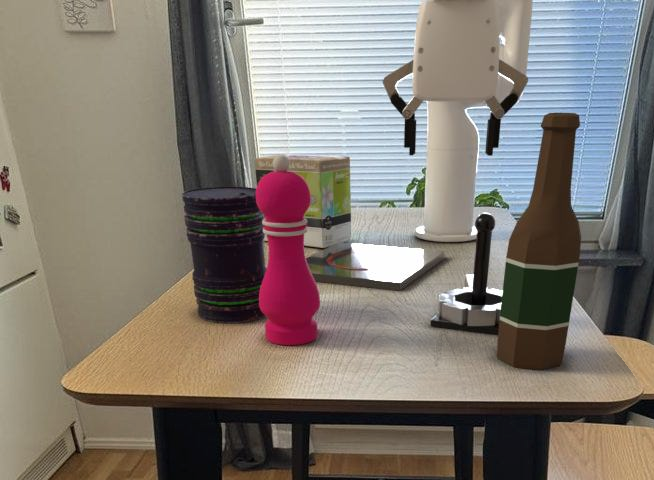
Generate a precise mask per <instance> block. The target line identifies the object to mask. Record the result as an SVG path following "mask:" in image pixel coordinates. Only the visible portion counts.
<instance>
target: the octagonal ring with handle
mask: <svg viewBox="0 0 654 480" xmlns="http://www.w3.org/2000/svg"><path fill="white" fill-rule="evenodd" d="M472 286H473V274H465V275H464V287H462V288H454V289H451V290H446V291H443V292H441V293H440V294H438V301H437V312H438V313H437V314H439V317H442V319H443V320H447V321H450V322H453V323H456V324H460V325H463V324H466V323H467V326H495V324H497V325H499V321H500V312H501V302H502V293H503V290H501V289H496V288H490V289H489V288H488V287H487V291H486V302H485V305H471V298H472Z"/></svg>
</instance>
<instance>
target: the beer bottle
mask: <svg viewBox="0 0 654 480" xmlns="http://www.w3.org/2000/svg"><path fill="white" fill-rule="evenodd" d="M540 123H541V124H540V127H541V129H542V130H543V131H542V137H541V142H540V148H539V154H538V158H537V164H536V171H535V177H534V182H533V188H532V192H531V196H530V198H529V202H528V206H527V207H526V208H525V210H524V211H523V213H522V214H521V215H520V217H519V218H518V219H517V221H516V223H515V226H514V228H513V230H512V232H511V234H510V237H509V239H508V245H507V251H506V256H505V265H504V273H503V282H502V283H503V284H502V291H503V293H502V302H501V312H500V321H499V331H498V335H497V344H496V357H497V360H499V361H501V362H503V363H504V364H506V365H508V366H511V367H512V368H517V369H518V368H519V369H527V370H535V371H538V370H539V371H542V370H545V369H550V368H554V367H555V368H556V367H558V366H561V365H562V363H563V360H564V359H563V358H564V356H565V355H564V354H565V350H566V345H567V339H568V334H569V333H568V332H569V327H570V326H569V325H570V320H571V313H572V306H573V300H574V294H575V288H576V282H577V276H578V270H579V263H580V256H581V245H582V233H581V228H580V222H579V219H578V217H577V214H576V213H575V210H574V208H573V206H572V181H573V169H574V158H575V149H576V148H575V146H576V136H577V130H578V129H579V128H580V127H581V120H580V114H577V112H548V113H546V114H545V115H543V118H542V121H541V122H540Z"/></svg>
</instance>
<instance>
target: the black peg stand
mask: <svg viewBox="0 0 654 480" xmlns="http://www.w3.org/2000/svg"><path fill="white" fill-rule="evenodd" d="M495 226H496V219H495V218H494V215H492V214H490V213H489V212H483V213H481V214H479V215H478V216H477V217H476V219H475V221H474V227H475V228H476V230H477V236H476V239H475V247H474V248H475V249H474V261H473V262H474V263H473V272H472V273H473V274H472V275H473V286H472V298H471V305H485V302H486V291H487V288H488V281H489V280H488V279H489V270H490V269H489V268H490V257H491V247H492V237H493V231H494V229H495ZM429 326H430V327H434V328H442V329H448V330H449V329H450V330H458V331H465V332H473V333H482V334H489V335H490V334H491V335H497V336H498V331H499V325H497V324H495V326H467V323H466V324H463V325H460V324H456V323H453V322H450V321H447V320H443V319H442V317H439V314H438V313H437V314H436V315H435V316H434V317H432V318H431V319H430V325H429Z"/></svg>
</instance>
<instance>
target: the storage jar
mask: <svg viewBox="0 0 654 480" xmlns="http://www.w3.org/2000/svg"><path fill="white" fill-rule="evenodd" d="M256 188H257V187H256ZM256 188H255V187H249V186H211V187H201V188H194V189H188V190H186V191H183V192H182V193H181V198H182V202H183V204H184V205H183V212H184V214H185V215H184V216H183V218H184V224H185V227H186V237H187V241H188V243H189V244H190V250H191V257H192V265H193V271H192V282H193V293H194V296H195V298H196V299H195V303H196V304H197V306H198V308H197V315H198V317H199V318H200V319H201V320H204V321H207V322H211V323H217V324H218V323H219V324H238V323H248V322H253V321H257V320H259V319H262V318H265V317H266V316H265V315H264V314H263V312H262V311H261V309H260V307H259V292H260V287H261V284H262V281H263V278H264V276H265V273H266V269H267V266H266V259H265V245H264V240H263V239H264V238H265V233H263V229H264V227H263V226H264V225H263V224H262V221H263V220H264V214H263V213H262V212H261V211H260V209H259V208H258V206H257V204H256Z"/></svg>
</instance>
